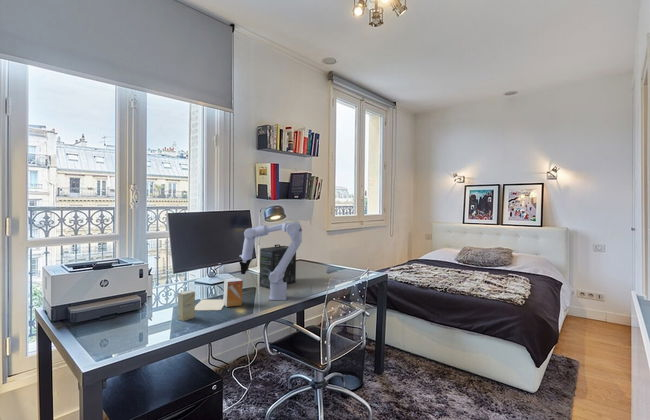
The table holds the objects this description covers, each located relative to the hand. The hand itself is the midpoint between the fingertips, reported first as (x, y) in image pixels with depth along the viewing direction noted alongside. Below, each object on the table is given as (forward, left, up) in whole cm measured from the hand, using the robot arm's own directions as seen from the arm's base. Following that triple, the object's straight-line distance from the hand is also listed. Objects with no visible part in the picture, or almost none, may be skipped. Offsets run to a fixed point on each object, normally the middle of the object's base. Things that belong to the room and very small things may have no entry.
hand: (244, 272), depth 187 cm
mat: (+14, +16, -14) cm, 25 cm away
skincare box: (+20, +35, -14) cm, 43 cm away
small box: (+3, +16, -14) cm, 21 cm away
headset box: (-18, -25, -14) cm, 34 cm away
